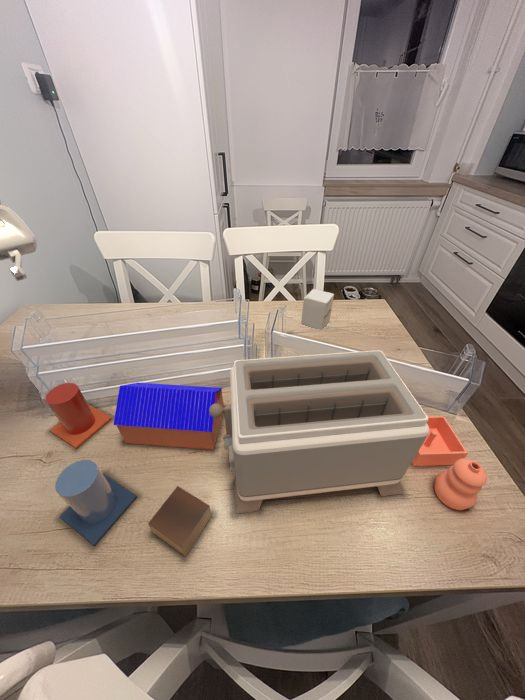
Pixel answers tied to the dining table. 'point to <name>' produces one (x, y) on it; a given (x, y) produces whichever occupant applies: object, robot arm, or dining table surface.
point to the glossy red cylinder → (70, 408)
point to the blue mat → (100, 529)
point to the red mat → (81, 438)
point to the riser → (180, 520)
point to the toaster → (319, 426)
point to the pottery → (462, 476)
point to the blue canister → (86, 491)
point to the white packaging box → (317, 309)
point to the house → (168, 415)
